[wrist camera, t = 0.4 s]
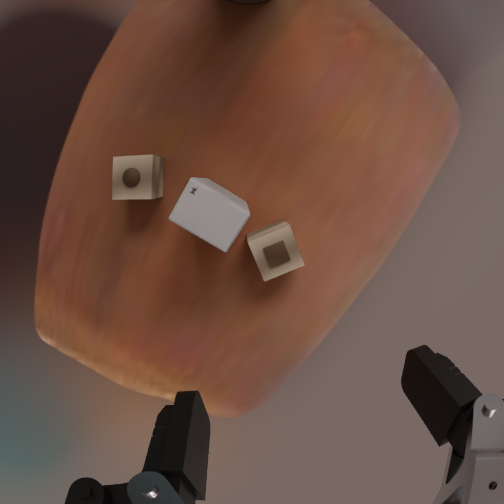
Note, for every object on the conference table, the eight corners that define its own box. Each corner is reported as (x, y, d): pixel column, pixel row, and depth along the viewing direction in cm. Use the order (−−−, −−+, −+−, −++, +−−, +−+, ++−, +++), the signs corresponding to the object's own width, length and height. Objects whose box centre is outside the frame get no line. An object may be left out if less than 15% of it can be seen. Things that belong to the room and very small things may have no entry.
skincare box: (189, 206, 35) (165, 218, 23) (207, 177, 34) (190, 174, 22) (230, 231, 36) (225, 255, 24) (248, 202, 35) (252, 212, 23)
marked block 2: (246, 234, 36) (247, 242, 31) (282, 219, 36) (290, 225, 30) (261, 268, 37) (264, 282, 32) (296, 254, 37) (305, 265, 32)
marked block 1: (129, 159, 33) (112, 156, 28) (164, 158, 33) (152, 154, 28) (128, 197, 34) (111, 199, 29) (163, 196, 34) (150, 199, 29)
